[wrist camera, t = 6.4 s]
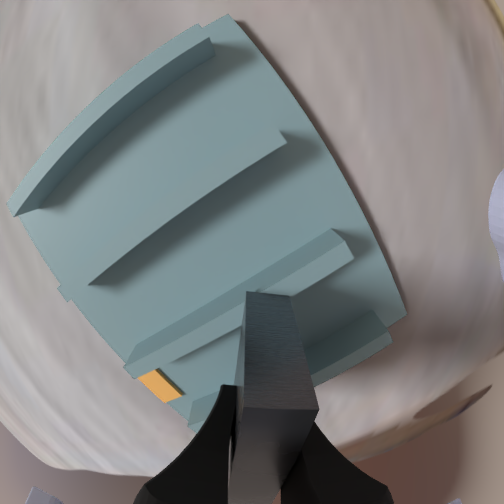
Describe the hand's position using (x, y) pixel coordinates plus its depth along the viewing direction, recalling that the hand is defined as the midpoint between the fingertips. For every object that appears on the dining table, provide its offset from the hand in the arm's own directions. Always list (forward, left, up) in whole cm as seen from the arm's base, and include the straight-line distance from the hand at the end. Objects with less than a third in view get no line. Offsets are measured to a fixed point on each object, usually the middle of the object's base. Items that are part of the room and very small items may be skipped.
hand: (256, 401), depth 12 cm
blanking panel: (0, 0, -3) cm, 3 cm away
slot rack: (+6, 0, -6) cm, 9 cm away
